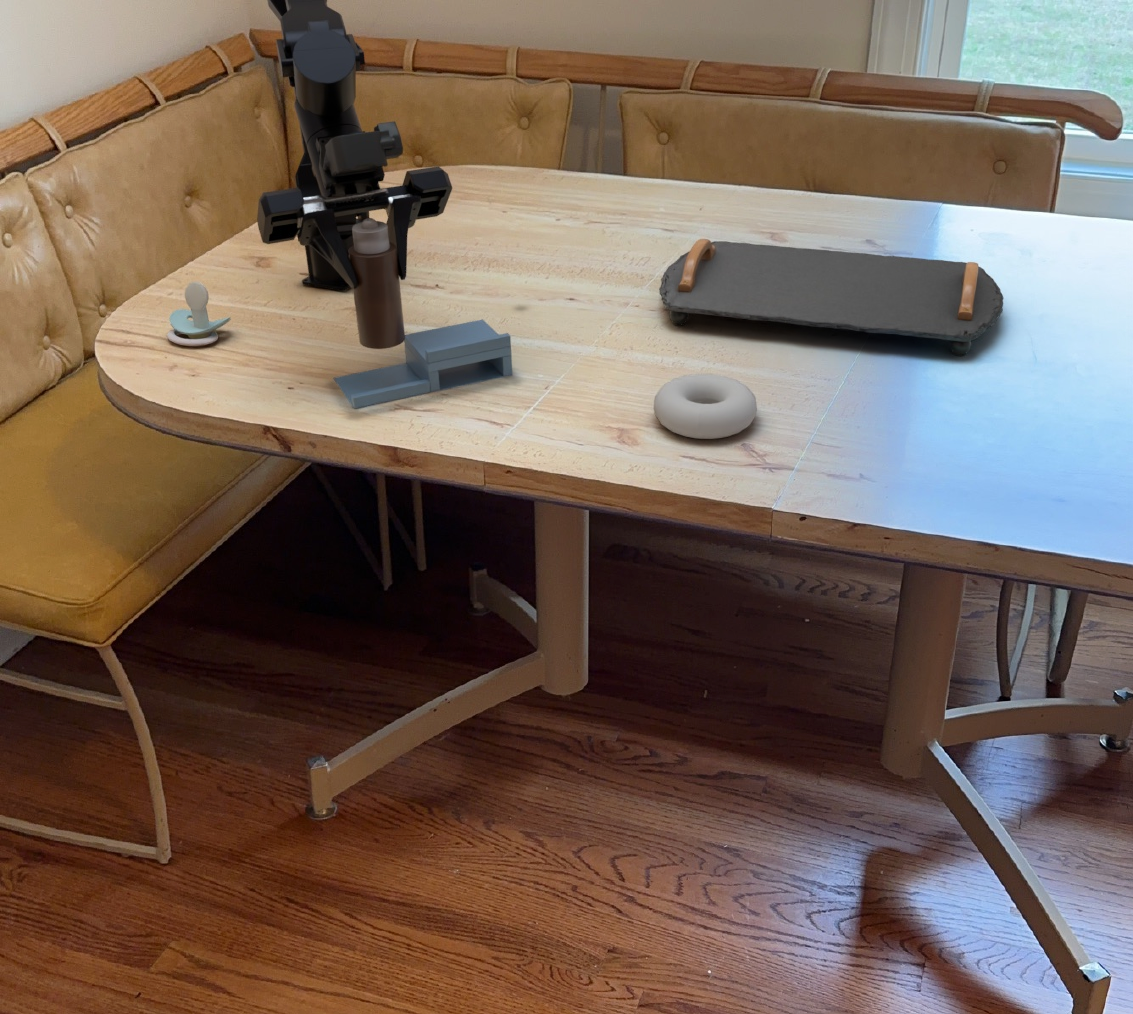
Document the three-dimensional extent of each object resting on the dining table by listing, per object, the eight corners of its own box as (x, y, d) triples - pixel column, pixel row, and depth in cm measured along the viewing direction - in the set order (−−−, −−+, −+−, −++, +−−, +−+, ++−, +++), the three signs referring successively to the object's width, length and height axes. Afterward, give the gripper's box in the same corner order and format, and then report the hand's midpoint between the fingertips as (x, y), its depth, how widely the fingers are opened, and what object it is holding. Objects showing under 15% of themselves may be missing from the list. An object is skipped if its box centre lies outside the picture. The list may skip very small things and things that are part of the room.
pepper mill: (350, 344, 121) (335, 222, 114) (375, 327, 125) (361, 208, 118) (389, 352, 120) (376, 228, 113) (413, 334, 123) (402, 213, 116)
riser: (333, 384, 126) (327, 338, 124) (484, 352, 132) (482, 308, 130) (355, 415, 120) (349, 368, 118) (513, 381, 126) (510, 335, 123)
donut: (743, 396, 122) (646, 400, 122) (746, 365, 120) (647, 369, 120) (766, 443, 114) (661, 448, 113) (769, 410, 112) (662, 415, 111)
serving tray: (1001, 288, 145) (1010, 237, 142) (996, 367, 126) (1006, 312, 123) (686, 258, 156) (688, 211, 152) (639, 328, 137) (639, 276, 134)
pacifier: (206, 353, 134) (240, 331, 139) (195, 301, 131) (230, 280, 135) (155, 343, 137) (190, 322, 141) (142, 292, 133) (178, 272, 138)
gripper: (244, 106, 110) (290, 261, 107) (438, 82, 116) (486, 228, 113) (240, 170, 120) (282, 313, 117) (419, 144, 126) (463, 279, 124)
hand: (379, 282), depth 118 cm, fingers closed on pepper mill, 4 cm apart
